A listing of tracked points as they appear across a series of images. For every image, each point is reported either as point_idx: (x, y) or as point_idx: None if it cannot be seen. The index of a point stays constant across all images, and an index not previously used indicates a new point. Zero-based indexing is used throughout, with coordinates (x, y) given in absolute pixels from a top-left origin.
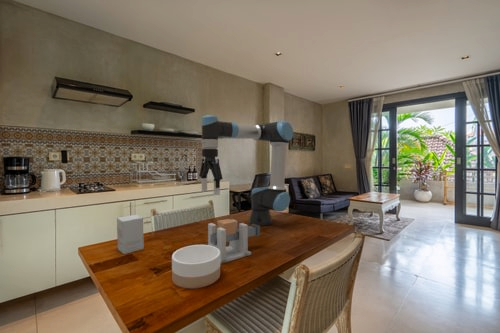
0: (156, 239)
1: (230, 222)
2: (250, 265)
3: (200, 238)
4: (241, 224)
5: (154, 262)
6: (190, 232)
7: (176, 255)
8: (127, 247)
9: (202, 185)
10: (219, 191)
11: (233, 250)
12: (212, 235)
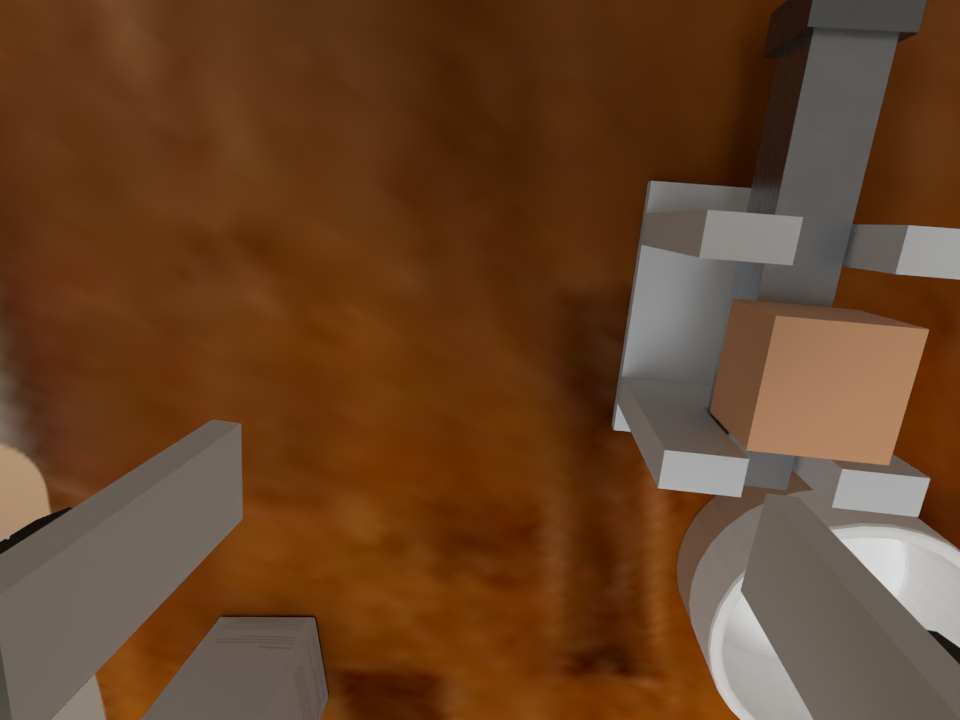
0: None
1: (901, 391)
2: (943, 308)
3: (343, 298)
4: (937, 269)
5: (518, 639)
6: (178, 289)
7: (740, 694)
8: (315, 710)
9: (167, 589)
10: (829, 538)
11: (727, 273)
12: (750, 484)
